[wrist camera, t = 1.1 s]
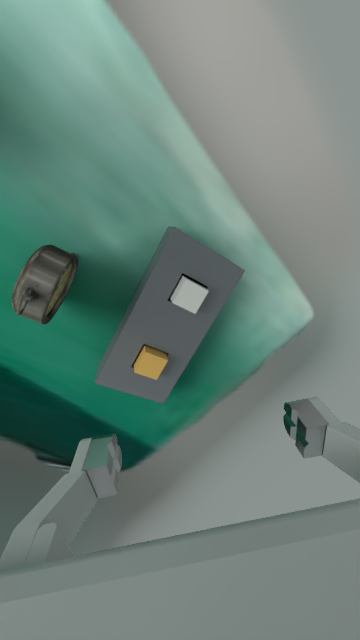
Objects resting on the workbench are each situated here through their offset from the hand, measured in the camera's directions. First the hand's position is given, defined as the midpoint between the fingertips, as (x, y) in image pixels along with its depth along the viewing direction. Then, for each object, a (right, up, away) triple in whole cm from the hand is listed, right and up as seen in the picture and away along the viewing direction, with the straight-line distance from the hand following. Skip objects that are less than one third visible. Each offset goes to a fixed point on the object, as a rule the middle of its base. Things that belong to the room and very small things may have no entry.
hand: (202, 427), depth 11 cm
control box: (-4, +6, +36) cm, 37 cm away
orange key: (-7, -2, +33) cm, 34 cm away
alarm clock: (-22, +13, +29) cm, 39 cm away
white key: (0, +10, +30) cm, 31 cm away
